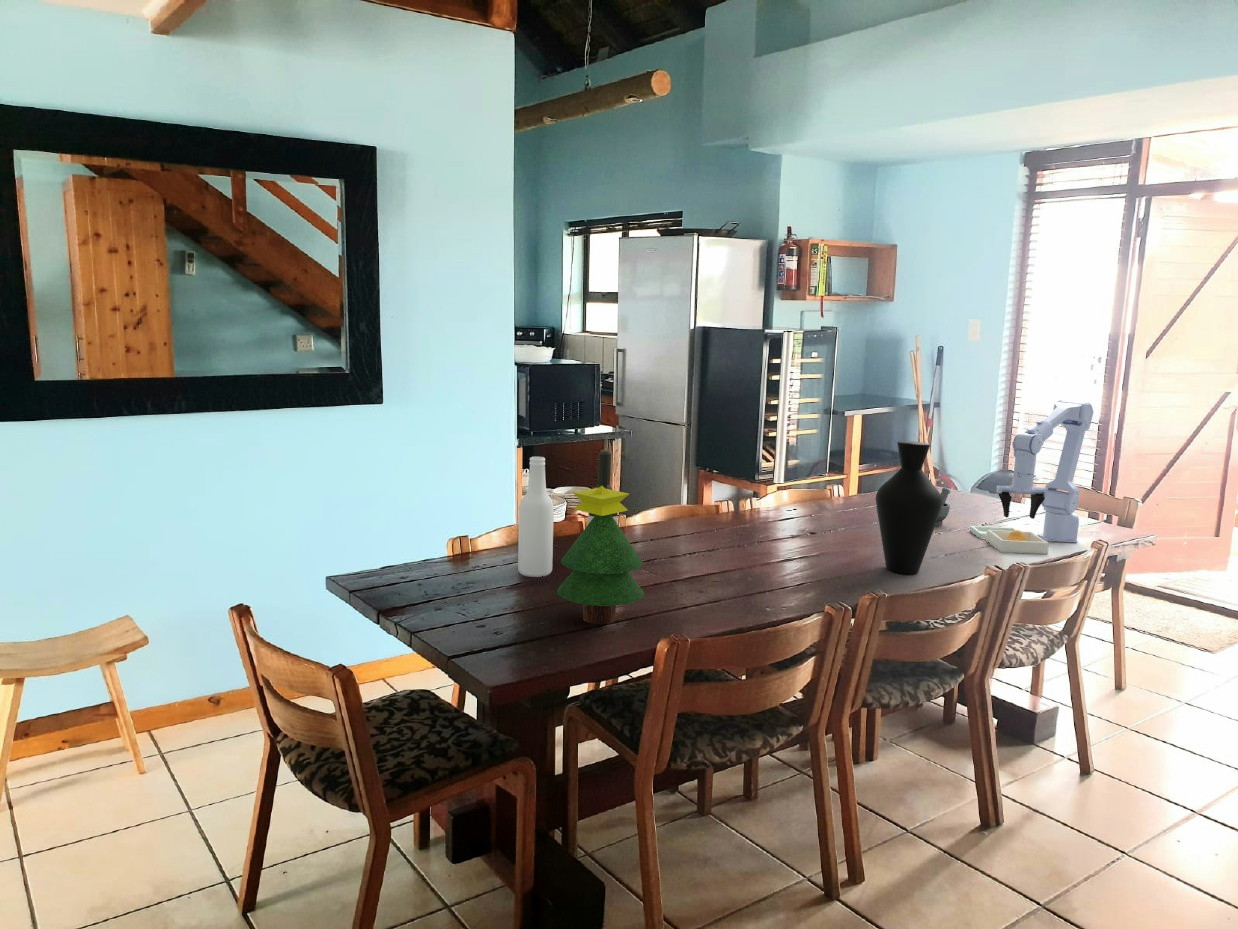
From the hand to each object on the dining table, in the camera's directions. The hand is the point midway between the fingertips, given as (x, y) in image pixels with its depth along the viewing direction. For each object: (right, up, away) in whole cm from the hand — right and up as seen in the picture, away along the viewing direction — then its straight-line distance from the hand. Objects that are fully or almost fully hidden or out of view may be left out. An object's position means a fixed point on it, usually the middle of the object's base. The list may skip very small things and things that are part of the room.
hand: (1018, 517), depth 286 cm
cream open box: (0, -9, +2) cm, 9 cm away
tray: (0, -7, +16) cm, 17 cm away
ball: (0, -6, +1) cm, 7 cm away
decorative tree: (-125, -18, -76) cm, 148 cm away
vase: (-44, -13, -28) cm, 54 cm away
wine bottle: (-126, -10, -28) cm, 129 cm away
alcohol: (-143, -12, -43) cm, 149 cm away
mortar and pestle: (-16, -4, +30) cm, 34 cm away
